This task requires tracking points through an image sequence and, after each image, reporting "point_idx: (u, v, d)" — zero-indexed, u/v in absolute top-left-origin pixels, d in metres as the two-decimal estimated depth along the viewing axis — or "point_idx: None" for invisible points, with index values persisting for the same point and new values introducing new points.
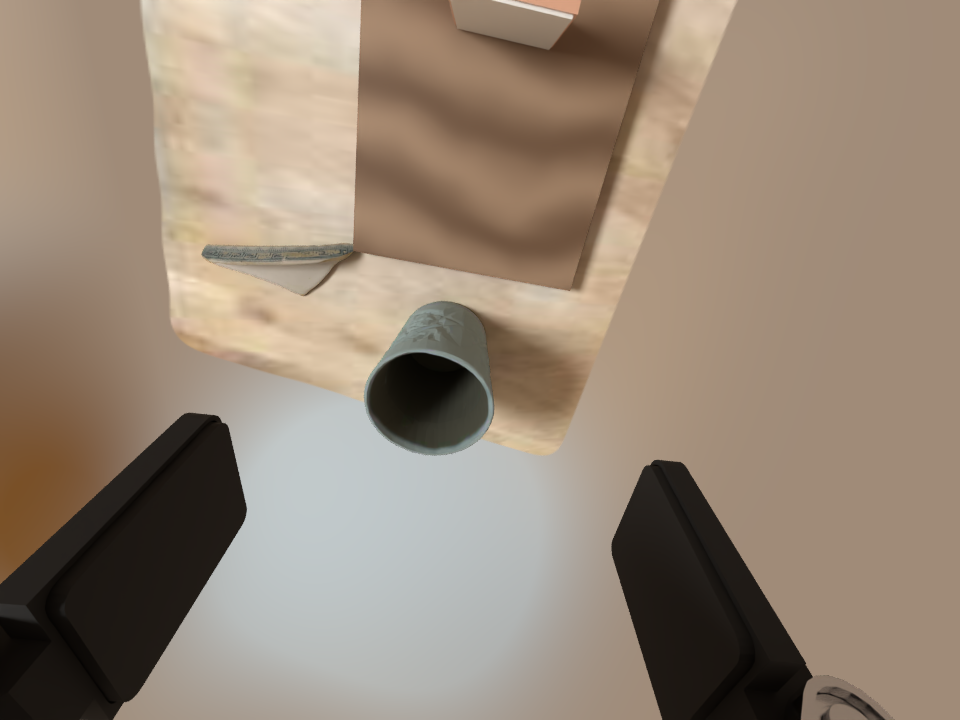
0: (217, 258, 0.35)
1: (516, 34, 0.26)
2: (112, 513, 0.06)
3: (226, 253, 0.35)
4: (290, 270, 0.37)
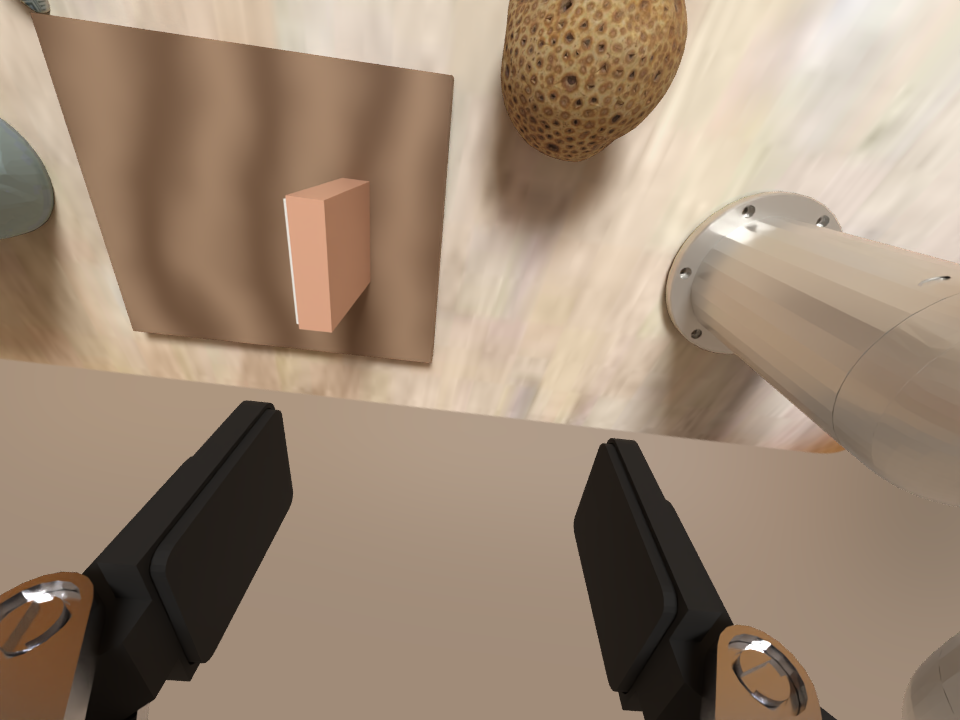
0: None
1: None
2: (195, 488, 0.07)
3: None
4: None
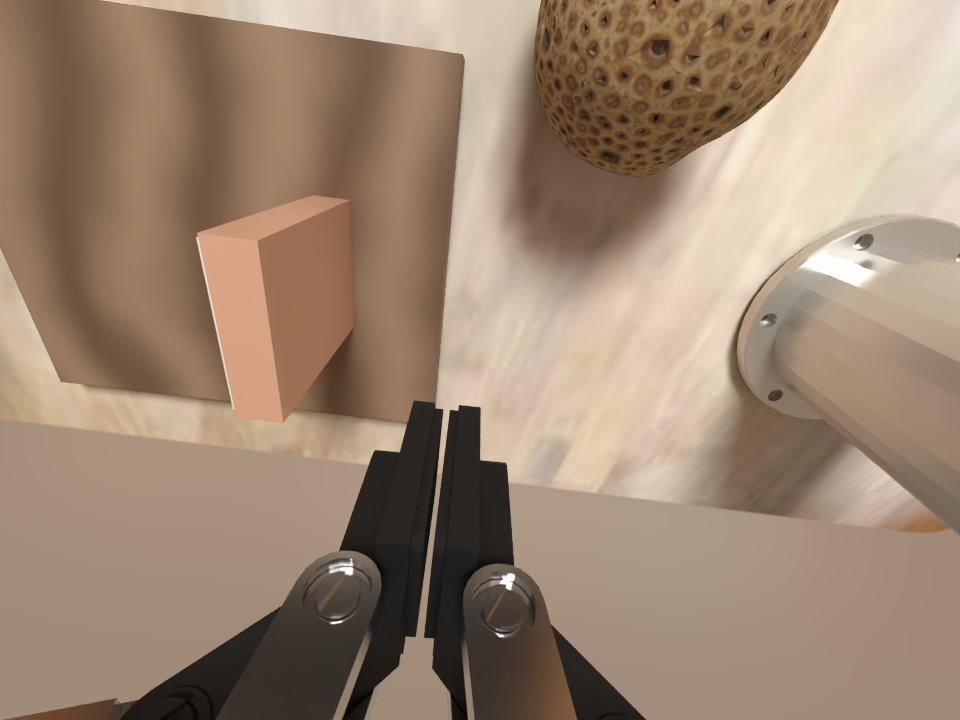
0: None
1: None
2: (417, 479, 0.07)
3: None
4: None
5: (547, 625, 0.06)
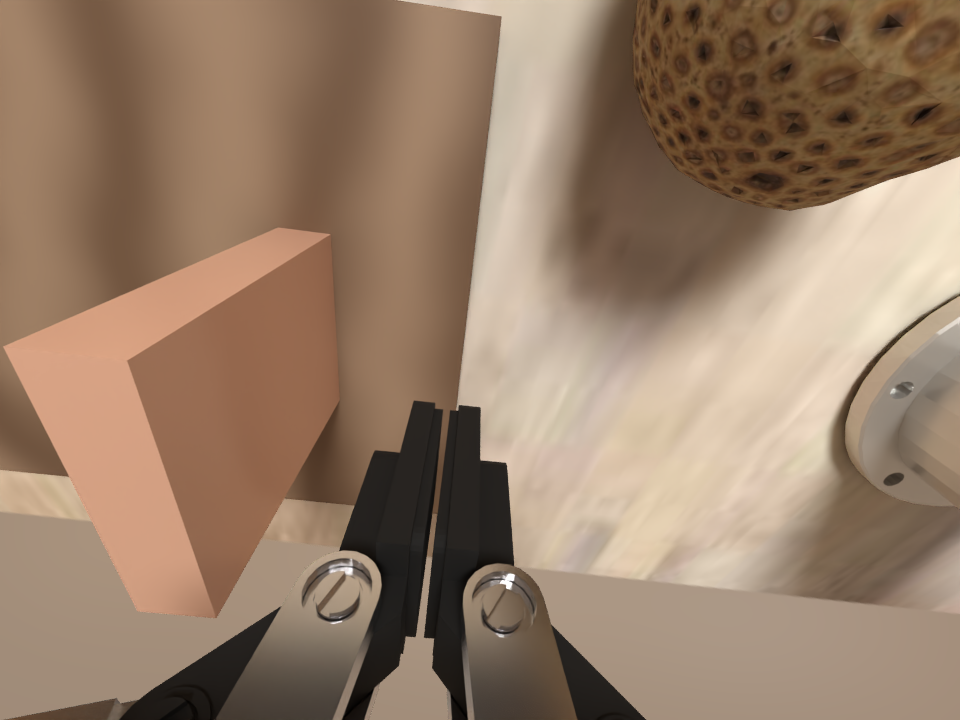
0: None
1: None
2: (417, 479, 0.07)
3: None
4: None
5: (547, 625, 0.06)
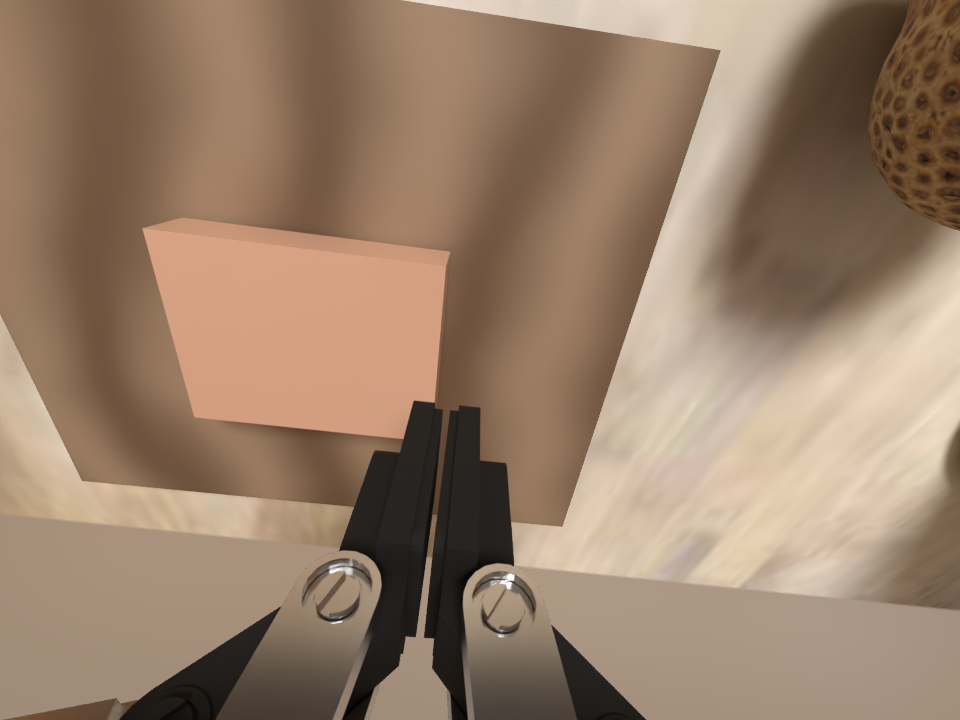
0: None
1: None
2: (417, 479, 0.07)
3: None
4: None
5: (546, 625, 0.06)
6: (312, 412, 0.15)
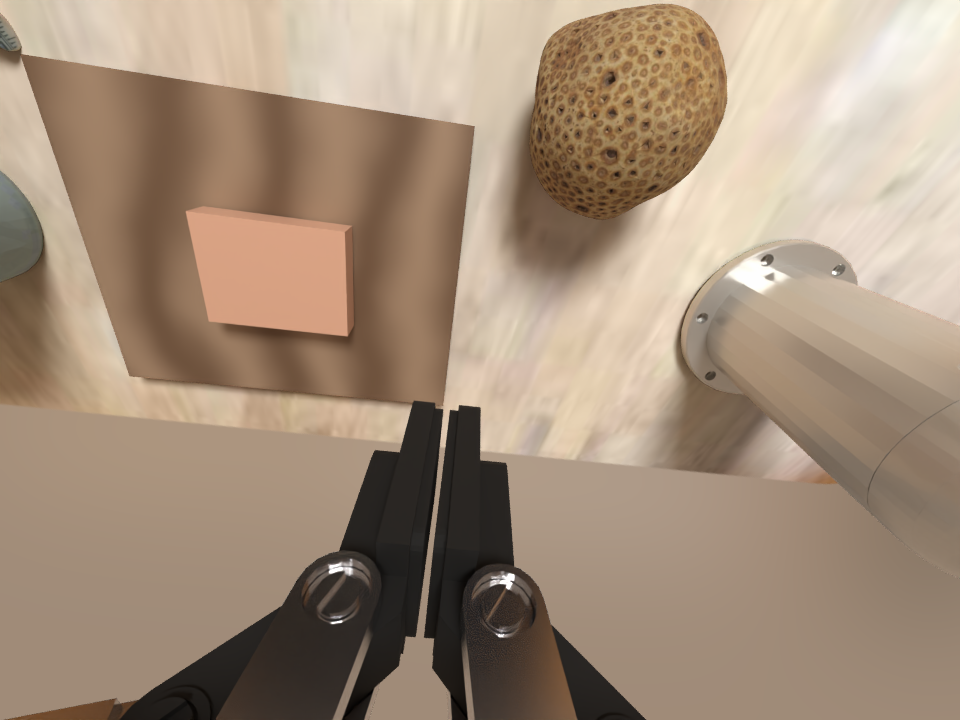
0: None
1: None
2: (417, 479, 0.07)
3: None
4: None
5: (547, 625, 0.06)
6: (277, 317, 0.27)
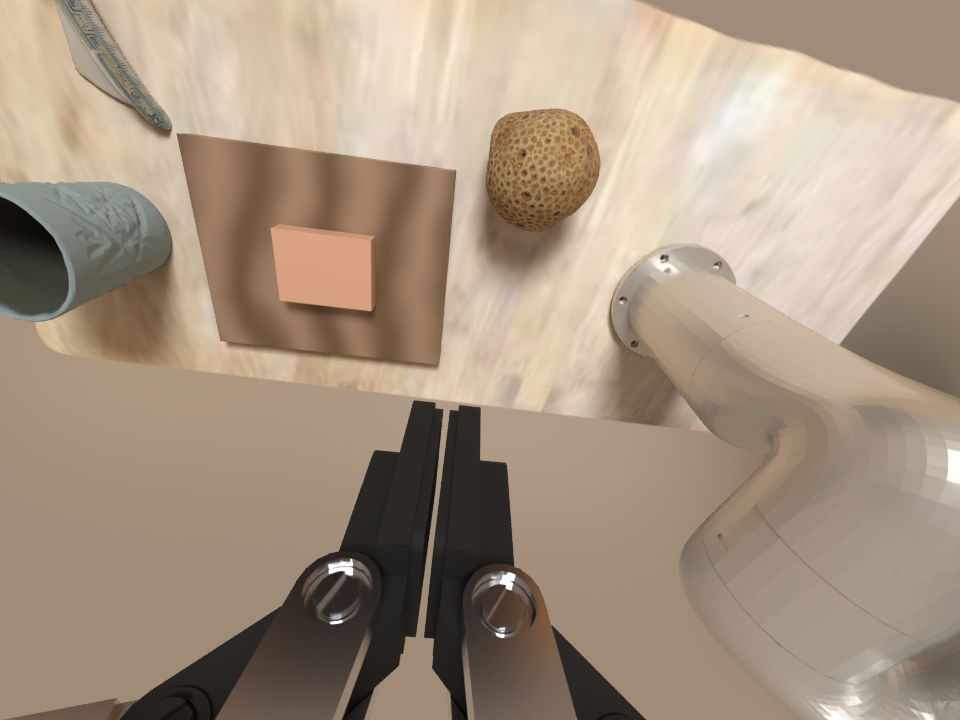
0: None
1: None
2: (417, 479, 0.07)
3: None
4: None
5: (547, 625, 0.06)
6: (325, 298, 0.40)
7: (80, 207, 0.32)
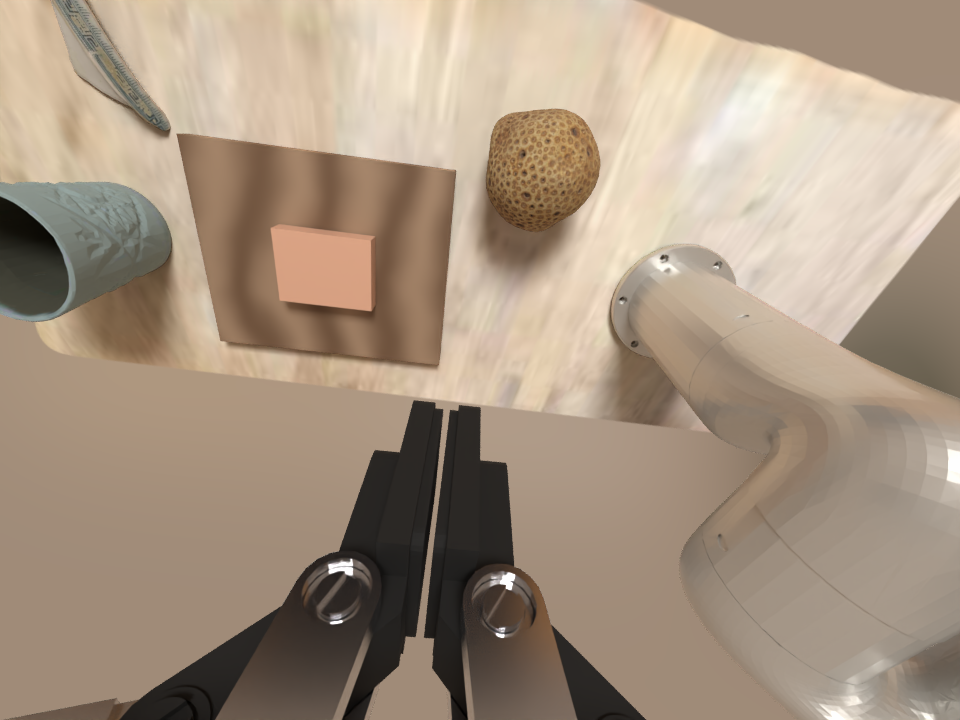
0: None
1: None
2: (417, 479, 0.07)
3: None
4: None
5: (547, 625, 0.06)
6: (325, 298, 0.40)
7: (80, 207, 0.32)
